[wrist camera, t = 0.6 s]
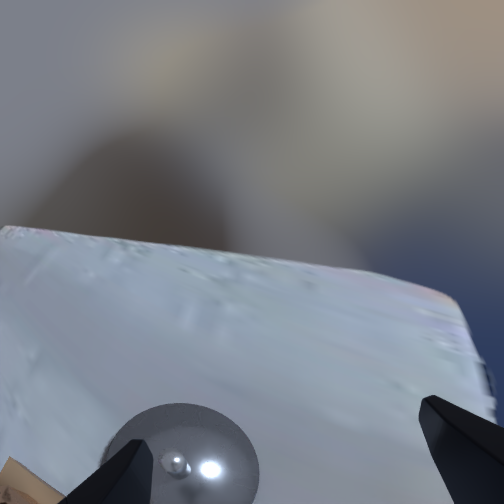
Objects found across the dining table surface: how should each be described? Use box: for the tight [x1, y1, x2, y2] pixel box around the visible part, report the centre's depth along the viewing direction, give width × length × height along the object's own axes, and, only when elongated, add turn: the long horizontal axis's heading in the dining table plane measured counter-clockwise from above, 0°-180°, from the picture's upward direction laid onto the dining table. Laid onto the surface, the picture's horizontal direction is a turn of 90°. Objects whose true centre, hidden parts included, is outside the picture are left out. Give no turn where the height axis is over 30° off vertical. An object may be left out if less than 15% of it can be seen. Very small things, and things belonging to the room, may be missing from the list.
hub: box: [106, 403, 259, 504], centre depth 19 cm, size 12×12×4 cm
